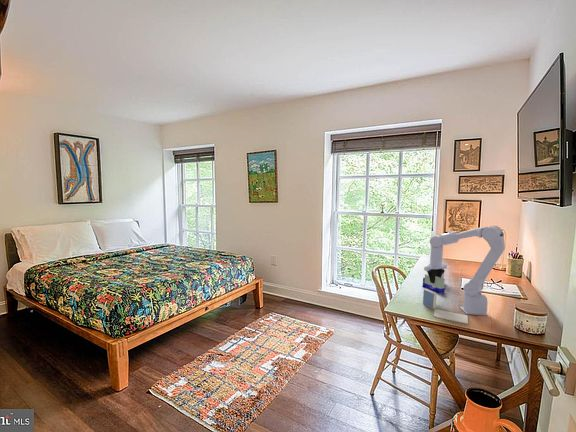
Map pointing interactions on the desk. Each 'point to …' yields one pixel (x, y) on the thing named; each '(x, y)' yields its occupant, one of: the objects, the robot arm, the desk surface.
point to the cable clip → (433, 288)
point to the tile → (429, 298)
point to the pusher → (438, 281)
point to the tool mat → (451, 316)
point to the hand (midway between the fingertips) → (434, 282)
